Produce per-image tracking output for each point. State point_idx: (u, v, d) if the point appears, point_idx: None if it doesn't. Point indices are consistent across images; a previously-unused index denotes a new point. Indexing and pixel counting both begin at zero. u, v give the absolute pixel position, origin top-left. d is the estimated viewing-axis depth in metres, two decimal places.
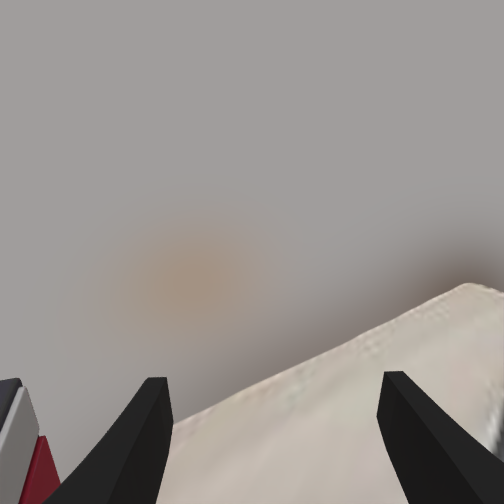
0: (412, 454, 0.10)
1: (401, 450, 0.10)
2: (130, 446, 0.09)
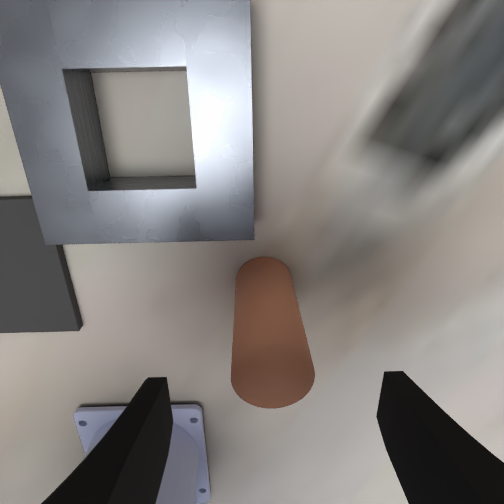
0: (412, 454, 0.10)
1: (401, 450, 0.10)
2: (130, 446, 0.09)
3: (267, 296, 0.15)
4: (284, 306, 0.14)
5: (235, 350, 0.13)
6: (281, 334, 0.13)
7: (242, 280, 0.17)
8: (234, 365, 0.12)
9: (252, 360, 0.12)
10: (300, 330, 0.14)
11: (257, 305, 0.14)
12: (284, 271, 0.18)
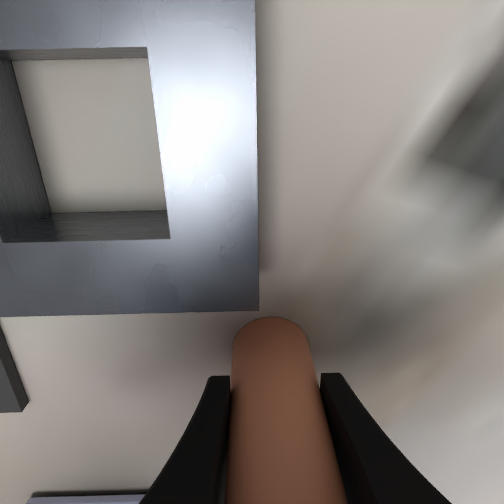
0: (338, 456, 0.10)
1: None
2: (214, 444, 0.09)
3: (278, 400, 0.10)
4: (305, 420, 0.09)
5: None
6: (305, 493, 0.08)
7: (242, 357, 0.12)
8: None
9: None
10: (332, 468, 0.09)
11: (264, 418, 0.09)
12: (300, 341, 0.13)
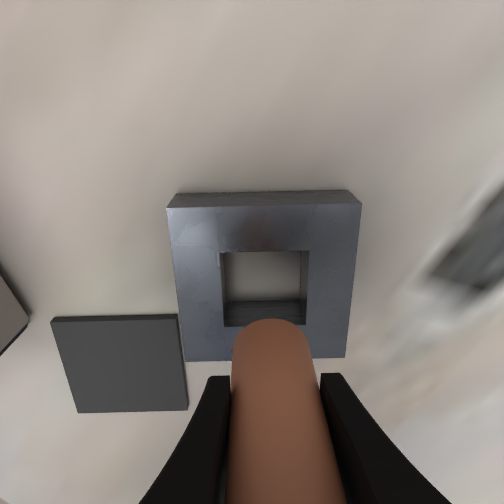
0: (338, 456, 0.10)
1: None
2: (214, 444, 0.09)
3: (275, 402, 0.10)
4: (303, 421, 0.09)
5: None
6: (302, 494, 0.08)
7: (240, 360, 0.12)
8: None
9: None
10: (330, 469, 0.09)
11: (261, 420, 0.09)
12: (298, 341, 0.13)
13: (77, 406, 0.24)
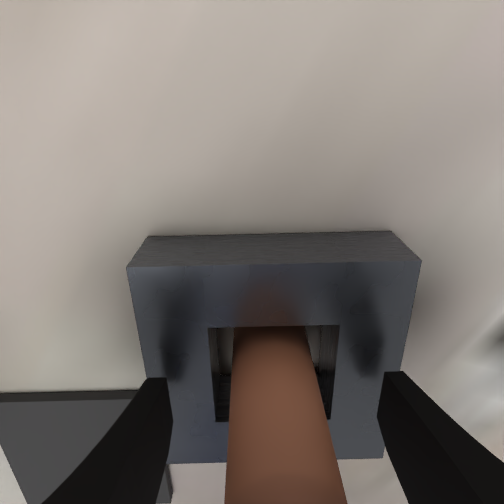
0: (412, 454, 0.10)
1: (401, 450, 0.10)
2: (130, 446, 0.09)
3: (273, 375, 0.11)
4: (298, 391, 0.10)
5: (229, 471, 0.09)
6: (296, 450, 0.08)
7: (241, 341, 0.13)
8: (228, 501, 0.08)
9: (254, 495, 0.08)
10: (322, 432, 0.09)
11: (260, 390, 0.10)
12: None
13: (27, 499, 0.18)
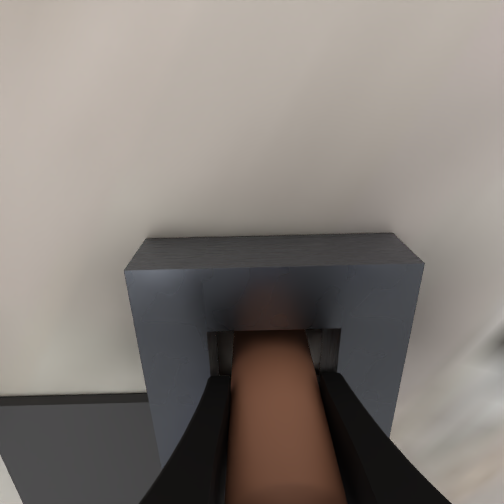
0: (338, 456, 0.10)
1: None
2: (214, 444, 0.09)
3: (273, 379, 0.11)
4: (299, 396, 0.10)
5: (229, 478, 0.09)
6: (297, 458, 0.08)
7: (241, 344, 0.13)
8: None
9: None
10: (324, 438, 0.09)
11: (260, 395, 0.10)
12: None
13: None
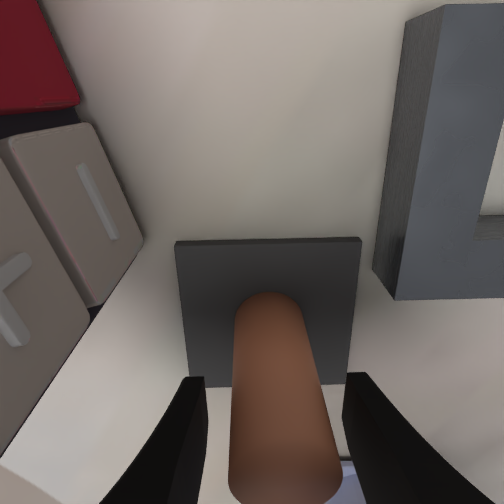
0: (368, 455, 0.10)
1: (360, 451, 0.10)
2: (180, 445, 0.09)
3: (274, 355, 0.11)
4: (297, 370, 0.11)
5: (234, 440, 0.10)
6: (296, 421, 0.09)
7: (243, 325, 0.14)
8: (232, 466, 0.09)
9: (257, 460, 0.09)
10: (320, 407, 0.10)
11: (262, 369, 0.11)
12: (294, 311, 0.14)
13: None
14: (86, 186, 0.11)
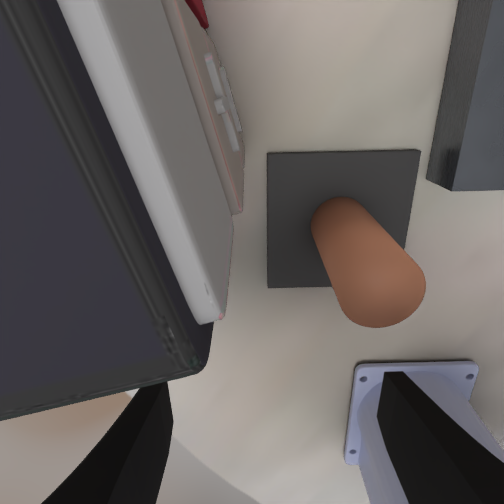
0: (412, 454, 0.10)
1: (401, 450, 0.10)
2: (130, 446, 0.09)
3: (360, 222, 0.14)
4: (380, 229, 0.14)
5: (340, 267, 0.13)
6: (390, 247, 0.12)
7: (324, 216, 0.17)
8: (343, 279, 0.12)
9: (362, 272, 0.12)
10: None
11: (353, 229, 0.14)
12: (364, 208, 0.17)
13: (269, 278, 0.20)
14: (223, 85, 0.14)
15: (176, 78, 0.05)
